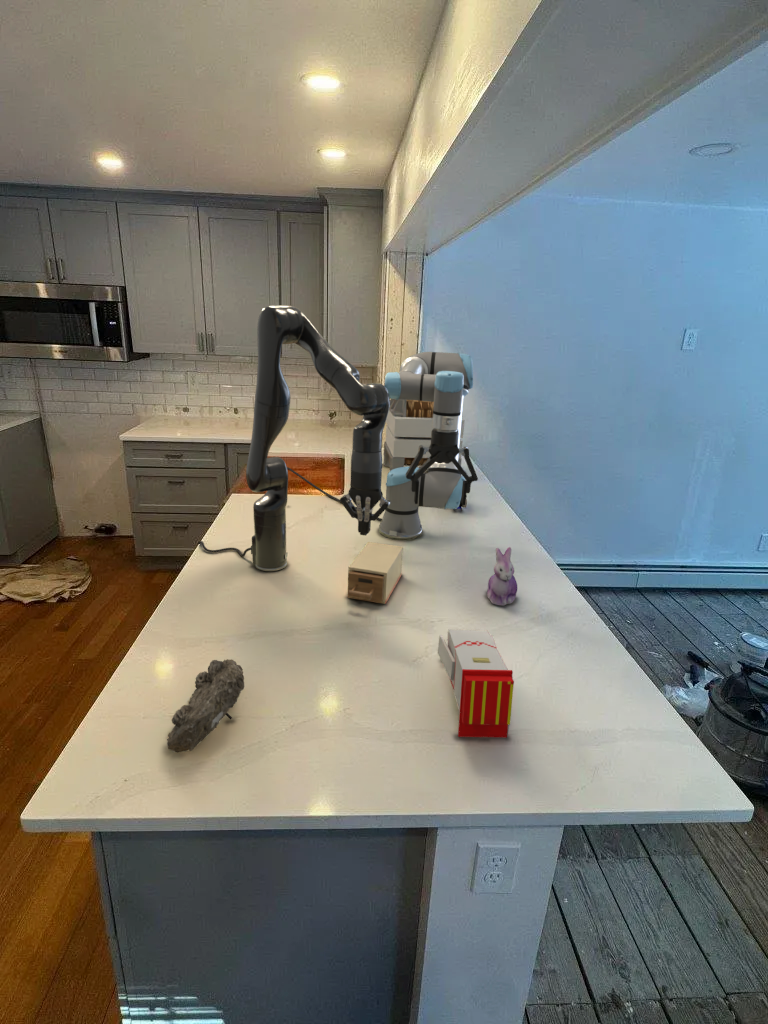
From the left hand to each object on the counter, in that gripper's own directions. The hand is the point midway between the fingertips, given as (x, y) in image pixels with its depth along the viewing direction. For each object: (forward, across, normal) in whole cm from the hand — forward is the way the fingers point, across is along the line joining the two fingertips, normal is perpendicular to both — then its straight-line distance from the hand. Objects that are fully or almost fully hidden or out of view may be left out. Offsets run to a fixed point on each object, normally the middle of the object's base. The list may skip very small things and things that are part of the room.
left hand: (364, 534), depth 143 cm
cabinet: (+21, 0, +13) cm, 25 cm away
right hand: (-2, +15, +26) cm, 30 cm away
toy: (+21, +32, -26) cm, 46 cm away
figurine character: (+21, +12, +90) cm, 93 cm away
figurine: (+21, +35, +18) cm, 45 cm away
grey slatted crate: (+21, -12, +134) cm, 136 cm away
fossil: (+21, -14, -49) cm, 56 cm away
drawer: (+20, 0, +8) cm, 22 cm away
